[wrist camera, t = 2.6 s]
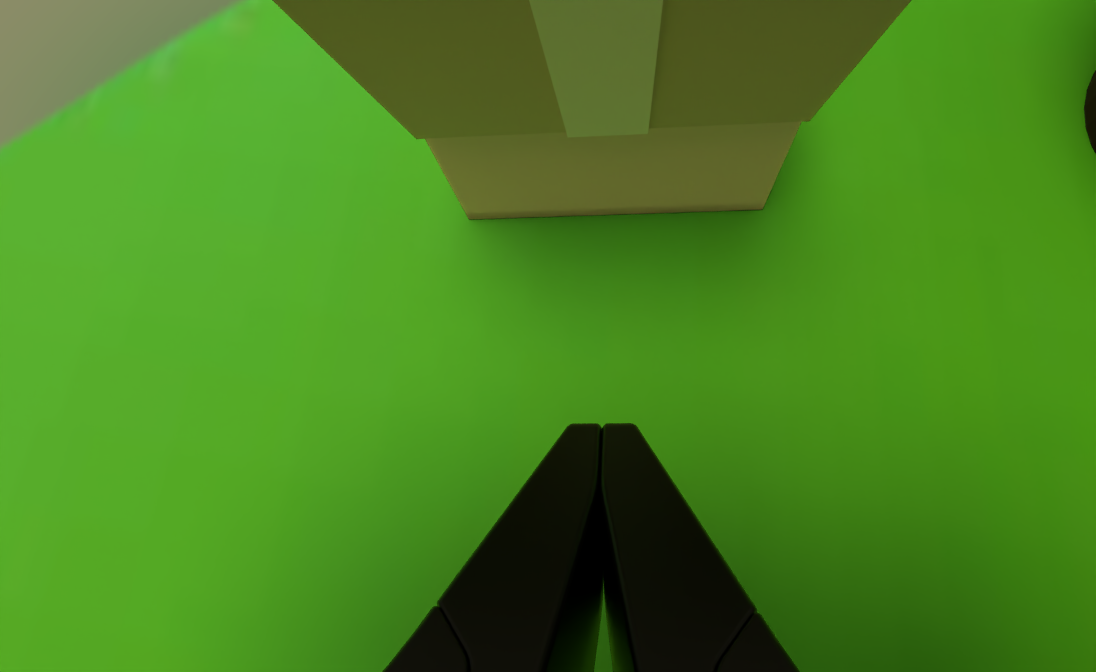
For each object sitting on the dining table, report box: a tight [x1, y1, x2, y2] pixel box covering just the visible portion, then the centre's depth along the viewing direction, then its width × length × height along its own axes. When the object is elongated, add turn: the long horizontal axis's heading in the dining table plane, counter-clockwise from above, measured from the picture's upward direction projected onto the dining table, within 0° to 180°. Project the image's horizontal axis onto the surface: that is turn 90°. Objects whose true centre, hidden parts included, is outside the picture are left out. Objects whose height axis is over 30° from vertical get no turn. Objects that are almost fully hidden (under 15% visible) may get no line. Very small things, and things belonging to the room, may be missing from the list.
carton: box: [425, 122, 801, 219], centre depth 21 cm, size 8×9×6 cm
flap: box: [273, 0, 911, 139], centre depth 13 cm, size 8×9×1 cm
